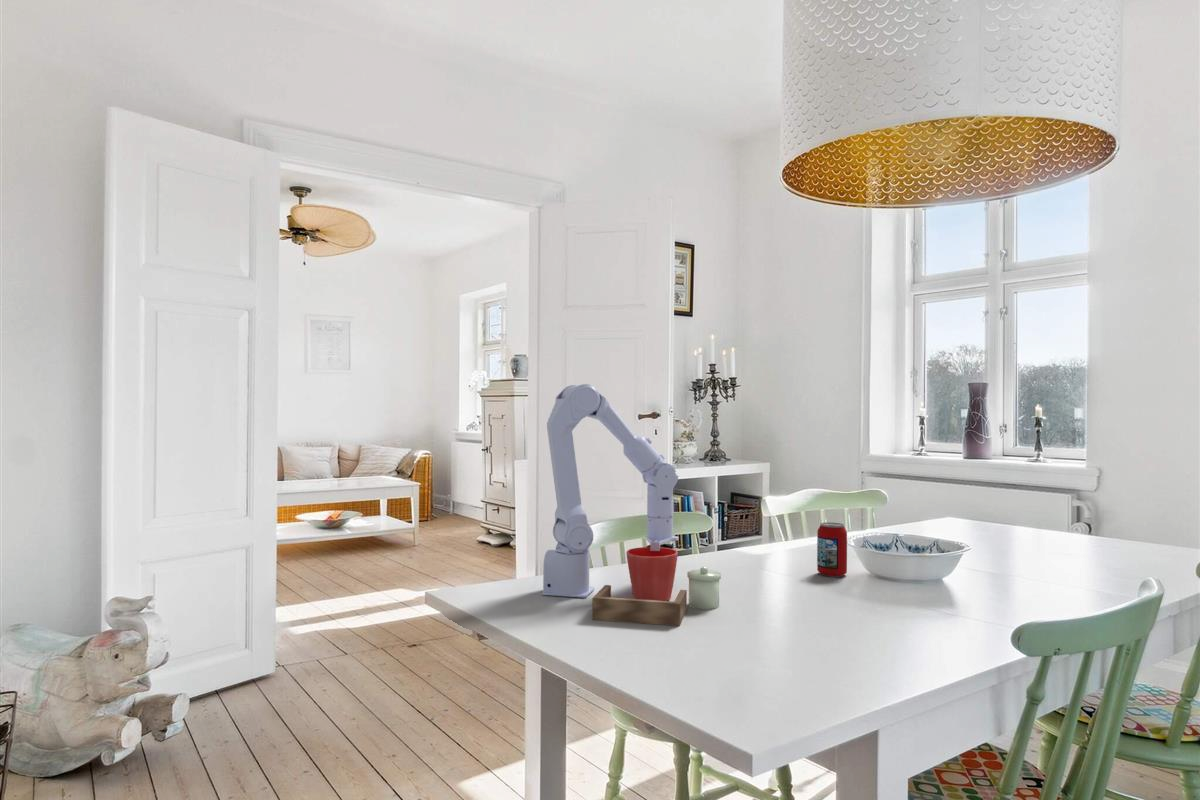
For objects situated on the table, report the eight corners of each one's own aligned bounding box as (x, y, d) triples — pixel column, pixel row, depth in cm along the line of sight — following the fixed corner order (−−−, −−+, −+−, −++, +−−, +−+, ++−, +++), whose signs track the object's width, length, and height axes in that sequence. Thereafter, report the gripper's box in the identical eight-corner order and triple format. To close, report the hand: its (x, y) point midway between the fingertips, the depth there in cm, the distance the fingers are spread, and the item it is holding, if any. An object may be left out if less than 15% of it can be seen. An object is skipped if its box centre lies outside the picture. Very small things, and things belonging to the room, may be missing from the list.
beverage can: (811, 573, 181) (811, 522, 181) (833, 570, 184) (833, 521, 184) (830, 578, 175) (831, 526, 175) (853, 576, 178) (853, 525, 178)
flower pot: (616, 600, 153) (617, 553, 153) (639, 589, 163) (639, 544, 163) (665, 607, 148) (665, 558, 148) (685, 595, 158) (685, 549, 158)
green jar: (685, 608, 148) (685, 569, 148) (689, 600, 154) (689, 562, 154) (719, 610, 146) (719, 571, 146) (721, 602, 153) (722, 564, 153)
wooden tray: (592, 619, 139) (592, 597, 139) (604, 605, 150) (605, 584, 150) (679, 625, 136) (679, 603, 136) (686, 610, 146) (686, 590, 146)
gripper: (673, 521, 159) (673, 586, 158) (682, 512, 173) (681, 572, 173) (640, 520, 160) (640, 584, 160) (651, 511, 174) (651, 570, 174)
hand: (659, 578), depth 166 cm, fingers closed
